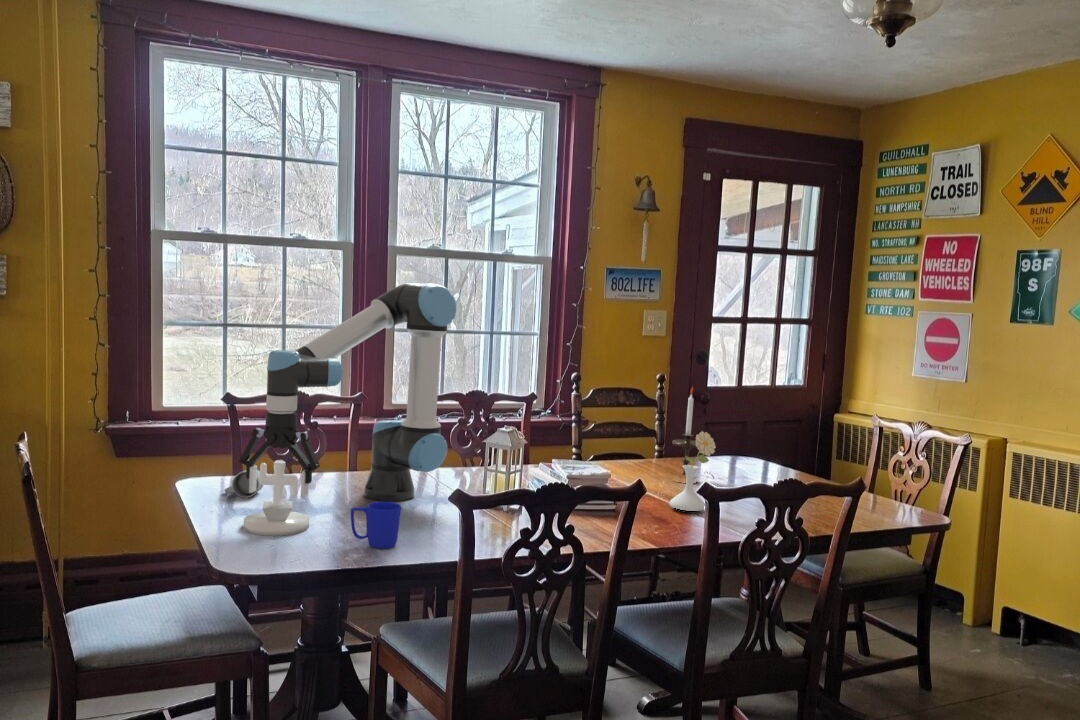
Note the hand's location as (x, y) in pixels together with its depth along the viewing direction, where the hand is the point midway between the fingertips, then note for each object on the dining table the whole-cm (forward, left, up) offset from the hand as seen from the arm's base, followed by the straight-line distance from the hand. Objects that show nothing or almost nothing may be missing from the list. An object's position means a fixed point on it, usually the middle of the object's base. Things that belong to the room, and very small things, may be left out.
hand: (278, 493), depth 213 cm
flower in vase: (-110, -56, -9) cm, 124 cm away
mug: (-28, +8, -9) cm, 30 cm away
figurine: (0, 0, -7) cm, 7 cm away
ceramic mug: (+22, -28, -9) cm, 37 cm away
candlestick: (-112, -100, -9) cm, 150 cm away
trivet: (0, 0, -9) cm, 9 cm away
